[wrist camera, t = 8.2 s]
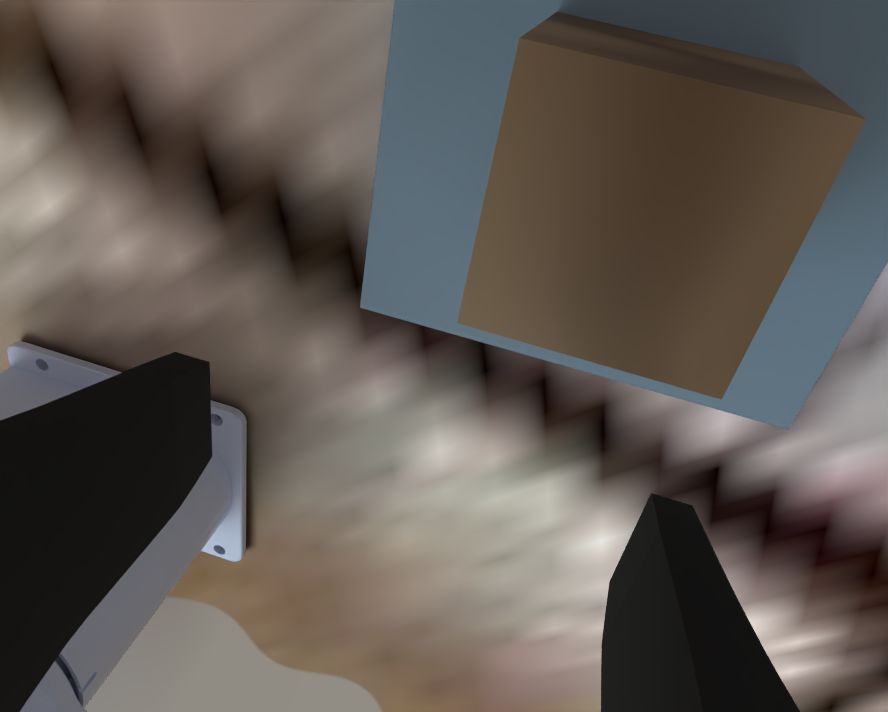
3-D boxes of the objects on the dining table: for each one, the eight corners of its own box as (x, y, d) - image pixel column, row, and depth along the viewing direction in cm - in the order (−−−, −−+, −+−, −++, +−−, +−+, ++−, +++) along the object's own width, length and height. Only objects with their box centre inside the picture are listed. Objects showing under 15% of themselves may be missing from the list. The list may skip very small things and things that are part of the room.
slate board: (374, 289, 20) (360, 307, 19) (439, -232, 13) (423, -247, 12) (780, 403, 19) (788, 429, 18) (1077, -119, 12) (1117, -125, 11)
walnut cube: (503, 230, 17) (457, 322, 13) (556, 11, 14) (519, 38, 10) (702, 284, 16) (722, 399, 12) (798, 66, 13) (865, 118, 9)
